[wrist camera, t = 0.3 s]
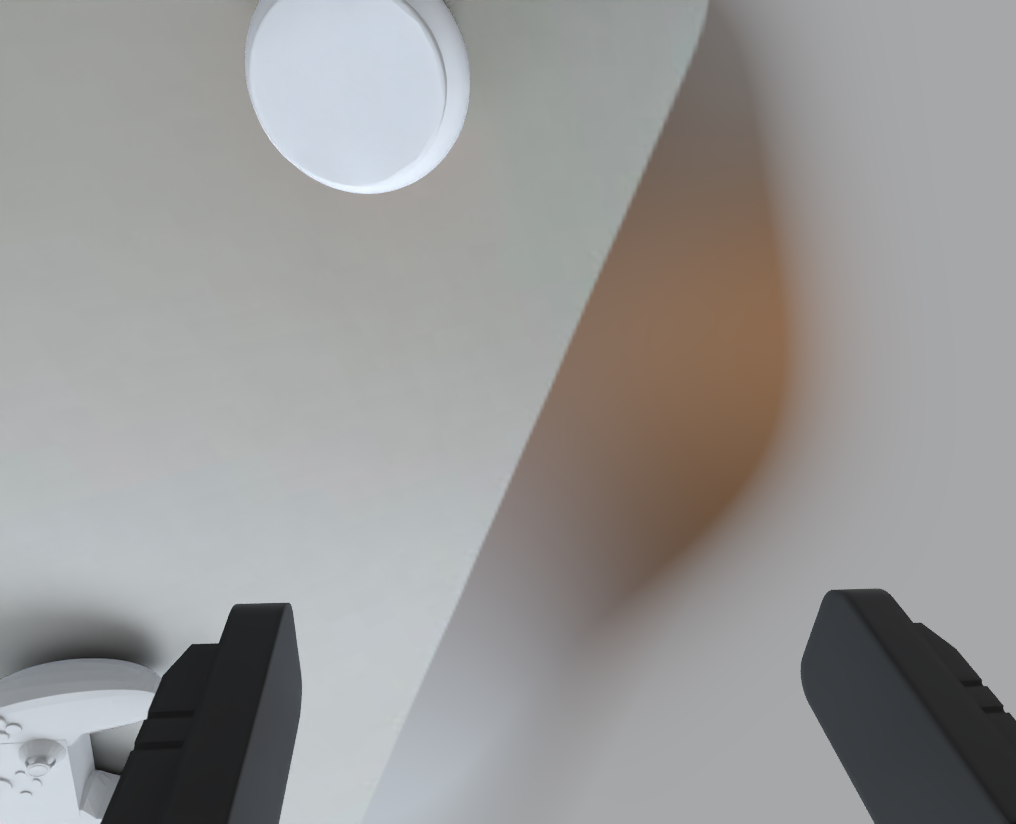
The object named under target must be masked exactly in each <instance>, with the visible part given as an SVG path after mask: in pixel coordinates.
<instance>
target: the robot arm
mask: <svg viewBox="0 0 1016 824" xmlns="http://www.w3.org/2000/svg"><path fill="white" fill-rule="evenodd" d="M801 680H802V685H803V690H804V693H805V696H806V698H807V701H808V703H809V705H810V706H811V708H812V710H813V712H814V714H815V715H816V717H817V719H818V721H819V723H820V725H821V726H822V728H823V730H824V732H825V734H826V736H827V737H828V739H829V741H830V743H831V745H832V747H833V748H834V750H835V752H836V754H837V756H838V757H839V759H840V761H841V763H842V765H843V767H844V768H845V770H846V772H847V774H848V775H849V778H850V779H851V781H852V783H853V785H854V787H855V788H856V790H857V792H858V794H859V795H860V798H861V799H862V801H863V803H864V805H865V806H866V809H867V810H868V812H869V814H870V816H871V818H872V819H873V821H874V823H875V824H1016V720H1015V719H1014V718H1013V717H1012V716H1011V714H1010V713H1005V712H1004V710H1003V705H1002V704H1001V702H1000V701H999V700H998V699H997V698H996V696H995V695H994V694H993V693H992V692H991V690H990V689H989V688H988V687H987V686H983V685H982V680H981V678H979V676H978V675H977V673H976V672H975V671H974V670H973V669H972V668H971V666H970V665H969V664H968V663H967V661H966V660H965V659H964V658H963V657H962V655H961V654H960V653H959V652H958V651H957V649H955V648H954V647H952V646H951V645H950V644H949V643H947V642H946V641H945V640H943V639H942V638H941V637H939V636H938V635H937V634H935V633H934V632H932V631H931V630H930V629H929V628H927V627H926V626H925V625H923V624H922V623H913V622H912V621H911V620H910V618H909V617H908V616H907V615H906V613H905V612H904V611H903V610H902V608H901V607H900V606H899V605H898V603H897V602H896V601H895V600H894V598H893V597H892V596H891V595H890V594H889V593H888V592H886V591H884V590H882V589H850V590H849V589H847V590H831V591H829V592H828V593H826V595H825V596H824V598H823V600H822V603H821V606H820V609H819V612H818V615H817V617H816V620H815V623H814V626H813V629H812V632H811V634H810V637H809V640H808V643H807V646H806V649H805V652H804V654H803V658H802V662H801ZM301 697H302V680H301V670H300V662H299V655H298V648H297V640H296V633H295V625H294V618H293V611H292V607H291V604H290V603H261V604H236V605H234V606H233V608H232V609H231V611H230V614H229V616H228V619H227V622H226V625H225V628H224V630H223V633H222V636H221V639H220V642H219V644H192V645H191V646H190V647H189V648H188V649H187V650H186V651H185V652H184V653H183V655H182V656H181V657H180V658H179V659H178V660H177V661H176V662H175V663H174V664H173V665H172V666H171V668H170V669H169V670H168V671H167V672H166V673H165V674H164V675H163V677H162V679H161V681H160V684H159V686H158V689H157V691H156V693H155V696H154V698H153V700H152V703H151V705H150V707H149V710H148V716H147V719H146V720H144V722H143V724H142V726H141V729H140V731H139V734H138V736H137V738H136V741H135V747H134V750H133V751H131V752H130V755H129V757H128V760H127V762H126V764H125V767H124V769H123V771H122V774H121V776H120V778H119V781H118V783H117V786H116V788H115V790H114V793H113V795H112V797H111V800H110V802H109V804H108V807H107V809H106V812H105V814H104V816H103V819H102V821H101V823H100V824H279V819H280V814H281V809H282V804H283V799H284V794H285V789H286V784H287V779H288V774H289V769H290V764H291V759H292V754H293V749H294V744H295V739H296V734H297V729H298V724H299V718H300V710H301Z"/></svg>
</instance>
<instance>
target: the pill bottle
mask: <svg viewBox="0 0 1016 824" xmlns="http://www.w3.org/2000/svg"><path fill="white" fill-rule="evenodd" d="M245 73H246V81H247V87H248V92H249V95H250V99H251V102H252V105H253V108H254V110H255V113H256V115H257V117H258V119H259V122H260V123H261V125H262V127H263V129H264V131H265V132H266V134H267V136H268V137H269V139H270V140H271V142H272V143H273V144H274V146H275V147H276V148H277V149H278V150H279V151H280V153H281V154H282V155H283V156H284V157H285V158H286V159H287V160H289V161H290V162H291V163H292V164H293V165H294V166H296V167H297V168H298V169H300V170H301V171H303V172H304V173H305V174H307V175H308V176H310V177H311V178H313V179H315V180H317V181H319V182H321V183H323V184H325V185H327V186H330V187H333V188H335V189H339V190H343V191H347V192H352V193H361V194H374V193H383V192H389V191H393V190H397V189H400V188H402V187H405V186H408V185H410V184H412V183H414V182H416V181H417V180H419V179H421V178H422V177H424V176H425V175H427V174H428V173H429V172H430V171H432V170H433V169H434V168H435V167H436V166H437V165H438V164H439V163H440V162H441V161H442V160H443V159H444V157H445V156H446V155H447V154H448V152H449V151H450V149H451V148H452V146H453V145H454V143H455V141H456V139H457V138H458V136H459V134H460V131H461V129H462V126H463V124H464V120H465V117H466V114H467V109H468V104H469V97H470V69H469V61H468V56H467V51H466V47H465V44H464V41H463V38H462V35H461V32H460V30H459V28H458V25H457V23H456V21H455V19H454V17H453V16H452V14H451V12H450V10H449V8H448V7H447V5H446V4H445V2H444V1H443V0H260V1H259V3H258V5H257V7H256V9H255V12H254V14H253V16H252V19H251V22H250V26H249V29H248V33H247V39H246V46H245Z"/></svg>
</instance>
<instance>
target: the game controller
mask: <svg viewBox="0 0 1016 824" xmlns="http://www.w3.org/2000/svg"><path fill="white" fill-rule="evenodd" d="M160 681H161V678H160V677H159V676H158V675H157V674H156V673H155V672H153V671H152V670H150V669H148V668H147V667H144V666H142V665H139V664H136V663H132V662H129V661H123V660H117V659H103V658H90V659H71V660H62V661H55V662H49V663H45V664H41V665H36V666H33V667H29V668H26V669H23V670H20V671H18V672H15V673H13V674H10V675H8V676H6V677H4V678H2V679H0V824H100V823H101V821H102V819H103V816H104V814H105V812H106V809H107V807H108V804H109V802H110V800H111V797H112V795H113V793H114V790H115V788H116V786H117V783H118V781H119V778H120V775H115V774H111V773H108V772H105V771H101V770H95V765H94V758H93V752H92V746H91V740H90V734H91V733H96V732H101V731H106V730H110V729H114V728H118V727H122V726H126V725H129V724H132V723H135V722H138V721H141V720H144V719H147V716H148V710H149V707H150V705H151V703H152V700H153V698H154V696H155V693H156V691H157V689H158V686H159V684H160Z"/></svg>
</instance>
